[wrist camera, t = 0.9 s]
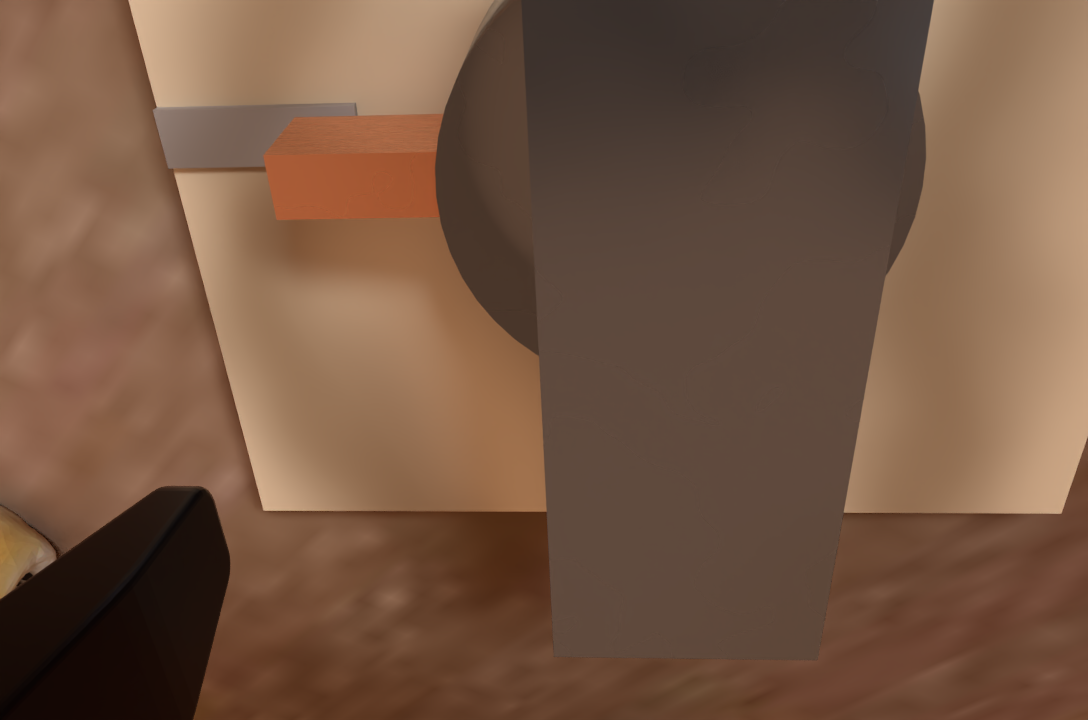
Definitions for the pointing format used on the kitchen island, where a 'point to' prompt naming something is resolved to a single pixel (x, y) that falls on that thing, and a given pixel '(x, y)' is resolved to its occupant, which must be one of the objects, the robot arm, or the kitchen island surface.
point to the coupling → (668, 283)
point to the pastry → (20, 551)
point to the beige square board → (513, 370)
